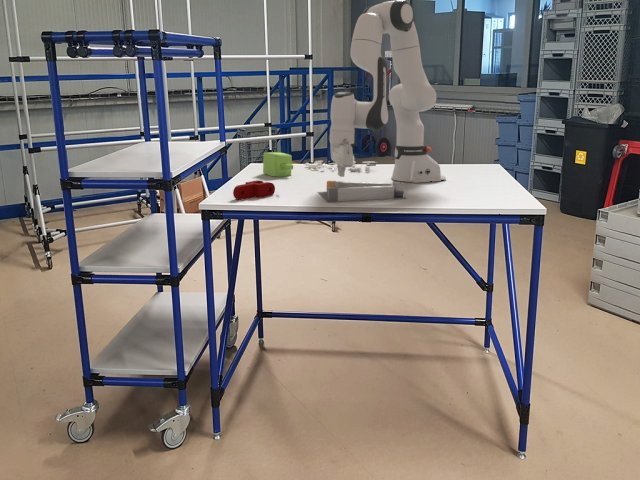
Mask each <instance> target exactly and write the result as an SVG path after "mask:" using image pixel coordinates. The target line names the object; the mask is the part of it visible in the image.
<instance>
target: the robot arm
mask: <svg viewBox="0 0 640 480" xmlns="http://www.w3.org/2000/svg"><path fill="white" fill-rule="evenodd" d="M414 13H415V12H414V7H413V6H412V4H411V3H410V2H409V1H408V0H390V1H389V0H388V1H383V2H382V3H378V4H375V5H371V6H368V7H366V8H365V9H364V10H363V11H362V13H361V14H360V15H359V17H358V18H357V21H356V23H355V27H354V29H353V34H352V37H351V44H350V53H349V54H350V59H351V61H352V63H353V64H354V65H356V66H357V67H358V68H359V69H361V70H364V71H366V72H367V73H369V74H371V75H372V78H373V97H372V98H373V99H372V101H359V100H357V99H355V95H354V93H353V92H351V91H340V92H336V93H335V94H333V96H332V99H331V103H330V104H331V105H330V121H331V123H330V124H331V125H330V129H329V136H328V141H329V143H330V146H329V147H330V159H331V161H332V162H335V163H337V164H336V166H337V167H336V168H337V175H338V176H339V177H341V178H342V177H343V178H344V177H345V172H346V168H351V167H352V165H353V156H354V152H353V149H354V148H353V146H352V145H353V144H355V129H364V130H365V129H367V130H371V131H377V132H378V131H380V130H382V129H383V128H385V126H387V124H388V122H389V117H390V116H389V113H390V112H389V106H388V100H389V104H390V105H391V106H392V109H393V113H394V118H395V123H396V143H395V146H394V148H395V149H394V168H393V171H392V175H391V180H394V181H396V182H404V183H405V182H406V183H408V182H409V183H412V184H413V183H417V184H418V183H419V184H420V183H429V182H430V181H432V182H440V181H441V180H444V181H446V179H447V178H446V176H445V175H443V174H442V173H441V172H442V171H441V166H440V165H439V163H438V162H437V161H436V160H435V159H433V158H432V157H431V156H430V155H429V154H428V153H430V152H432V147H431V146H425V145H424V141H425V126H424V124H423V123H424V122H422V120H421V117H420V112H425V111H428V110H431V109H433V107H434V106H435V105H436V101H437V92H436V90H435V88H434V87H433V86H432V85H431V84H430V82H429V80H428V77H427V75H426V73H425V70H424V66H423V62H422V56H421V48H420V41H419V35H418V31H417V28H416V25H415V22H414V19H415V18H414V17H415V16H414V15H415V14H414ZM386 34H388V35H389V36H390V37H389V38H390V39H389V40H390V50H391V51H390V53H391V58H392V59H391V60H392V65H393V70H394V72H395V74H396V75H397V76H398V78H399V80H400V83H398V84H396V85H394V86H393V87H392V88H391V89H390V90H389V92H388V65H387V62H386V59H385V58H383V56H382V42H383V35H386ZM388 93H389V94H388Z"/></svg>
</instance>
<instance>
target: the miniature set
mask: <svg viewBox="0 0 640 480" xmlns="http://www.w3.org/2000/svg"><path fill="white" fill-rule="evenodd" d="M323 162H324V161H323V160H315V161H314V162H313V163H309V162H305V166H308V170H310V171H312V172H315V171H316V172H317V171H319V167H321V168H322V169H324V168H328V167H329V168H332V170H331V171H333V172H334V169H335V168H337V163H336V162H334V161H330V160H328V161H327V163H328V166H327V165H326V163H323ZM356 163H357V162H356V161H355V155H353V165H352V167H349V168H350V172H362V166H363V164H366V166H365V167H364V170H365V171H367V172H368V171H370V167H371V166H372V167H373V166H374V167H375V166H377V164H376V163H374V161H370V160H369V161H362V162H361V163H362V164H357V165H356ZM371 163H374V164H371Z"/></svg>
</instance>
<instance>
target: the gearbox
mask: <svg viewBox="0 0 640 480" xmlns="http://www.w3.org/2000/svg"><path fill="white" fill-rule="evenodd" d="M292 157H293V156H292V155H291V154H288V153H284V152H278V151H277V152H263V159H262V162H263V163H262V165H263V166H262V172H263V173H262V174H265V175H267V176H271V177H277V178H278V177H280V178H281V177H287V176H292V170H293V169H294V164H292V163H293V162H292V161H293V158H292Z"/></svg>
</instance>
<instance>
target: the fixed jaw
mask: <svg viewBox="0 0 640 480" xmlns="http://www.w3.org/2000/svg"><path fill="white" fill-rule="evenodd" d="M404 192H405V181H393V182H391V186H370V187H346V188H337V187H328V196H327V200H328V201H329V202H333V203H339V202H338V201H354V202H360V201H359V200H375V201H381V200H380V199H394V198H403V197H405V196H404V195H405V193H404Z"/></svg>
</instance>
